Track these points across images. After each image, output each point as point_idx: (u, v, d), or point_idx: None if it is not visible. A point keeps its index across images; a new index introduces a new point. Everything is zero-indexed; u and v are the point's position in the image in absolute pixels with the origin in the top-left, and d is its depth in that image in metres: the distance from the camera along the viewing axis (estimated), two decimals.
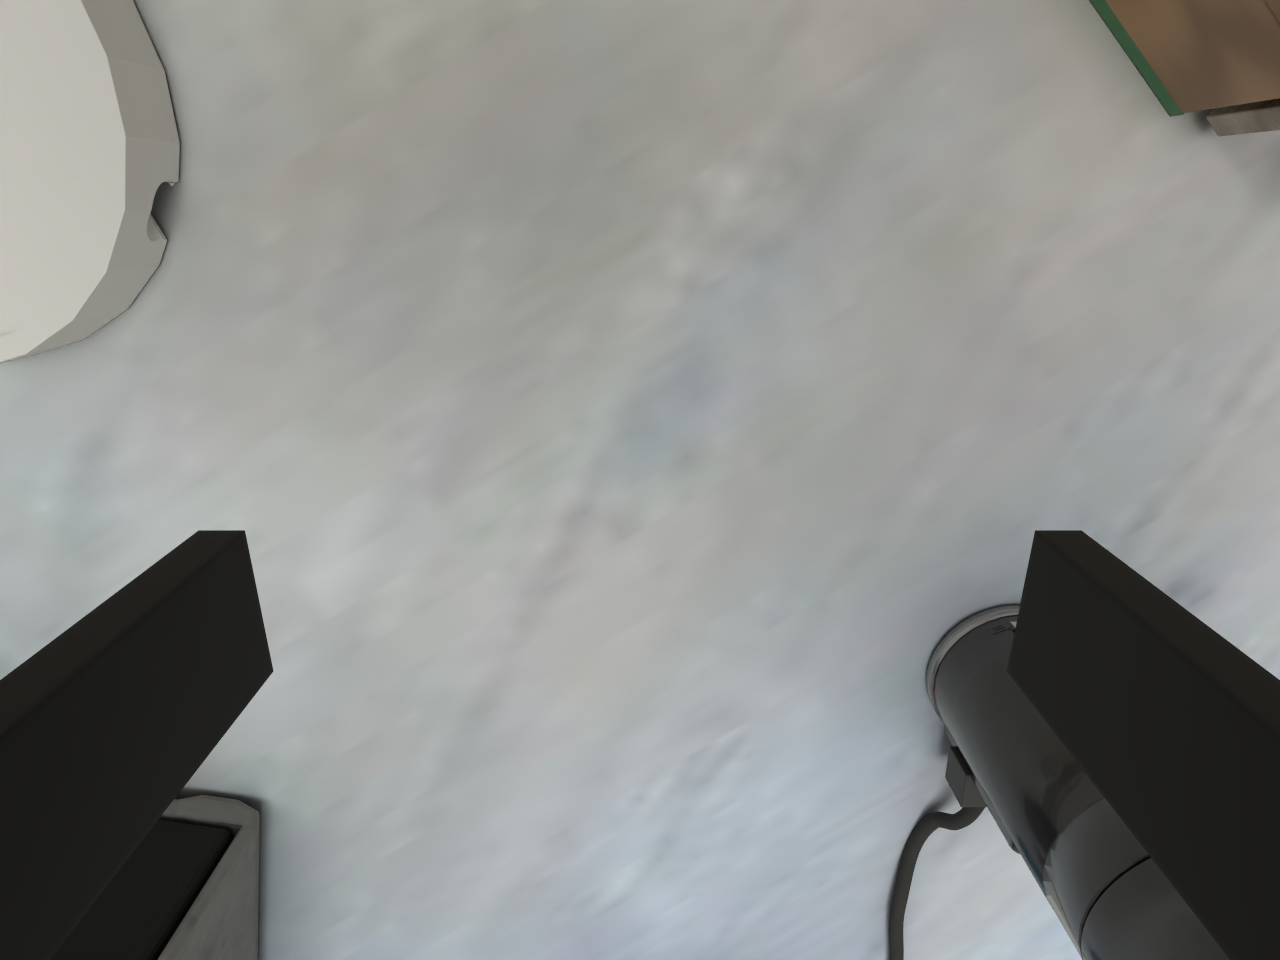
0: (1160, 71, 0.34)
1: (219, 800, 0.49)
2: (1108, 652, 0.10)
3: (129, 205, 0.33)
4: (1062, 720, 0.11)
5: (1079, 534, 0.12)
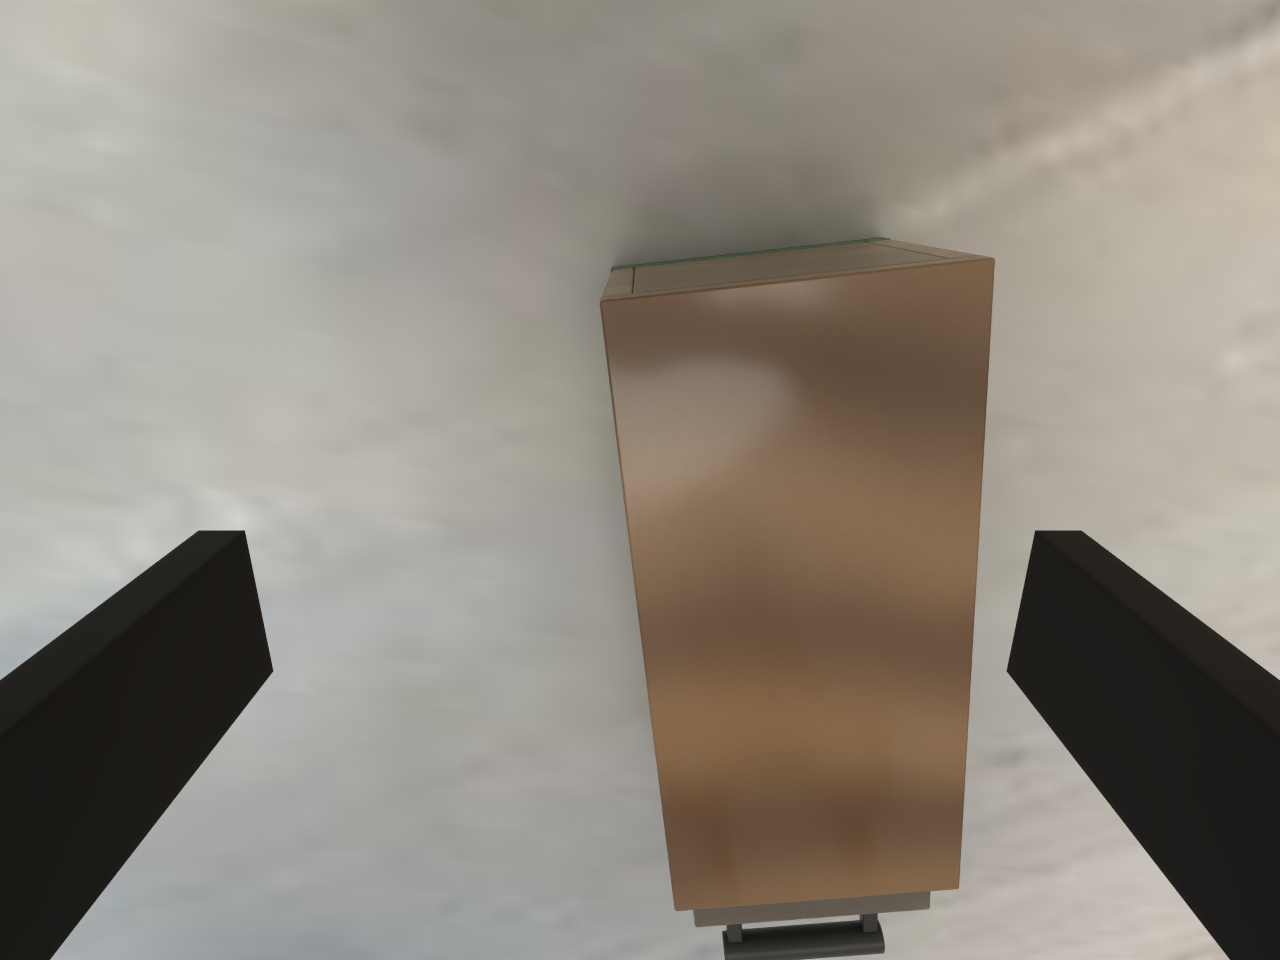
0: None
1: None
2: (1108, 652, 0.10)
3: None
4: (1062, 719, 0.11)
5: (1079, 534, 0.12)
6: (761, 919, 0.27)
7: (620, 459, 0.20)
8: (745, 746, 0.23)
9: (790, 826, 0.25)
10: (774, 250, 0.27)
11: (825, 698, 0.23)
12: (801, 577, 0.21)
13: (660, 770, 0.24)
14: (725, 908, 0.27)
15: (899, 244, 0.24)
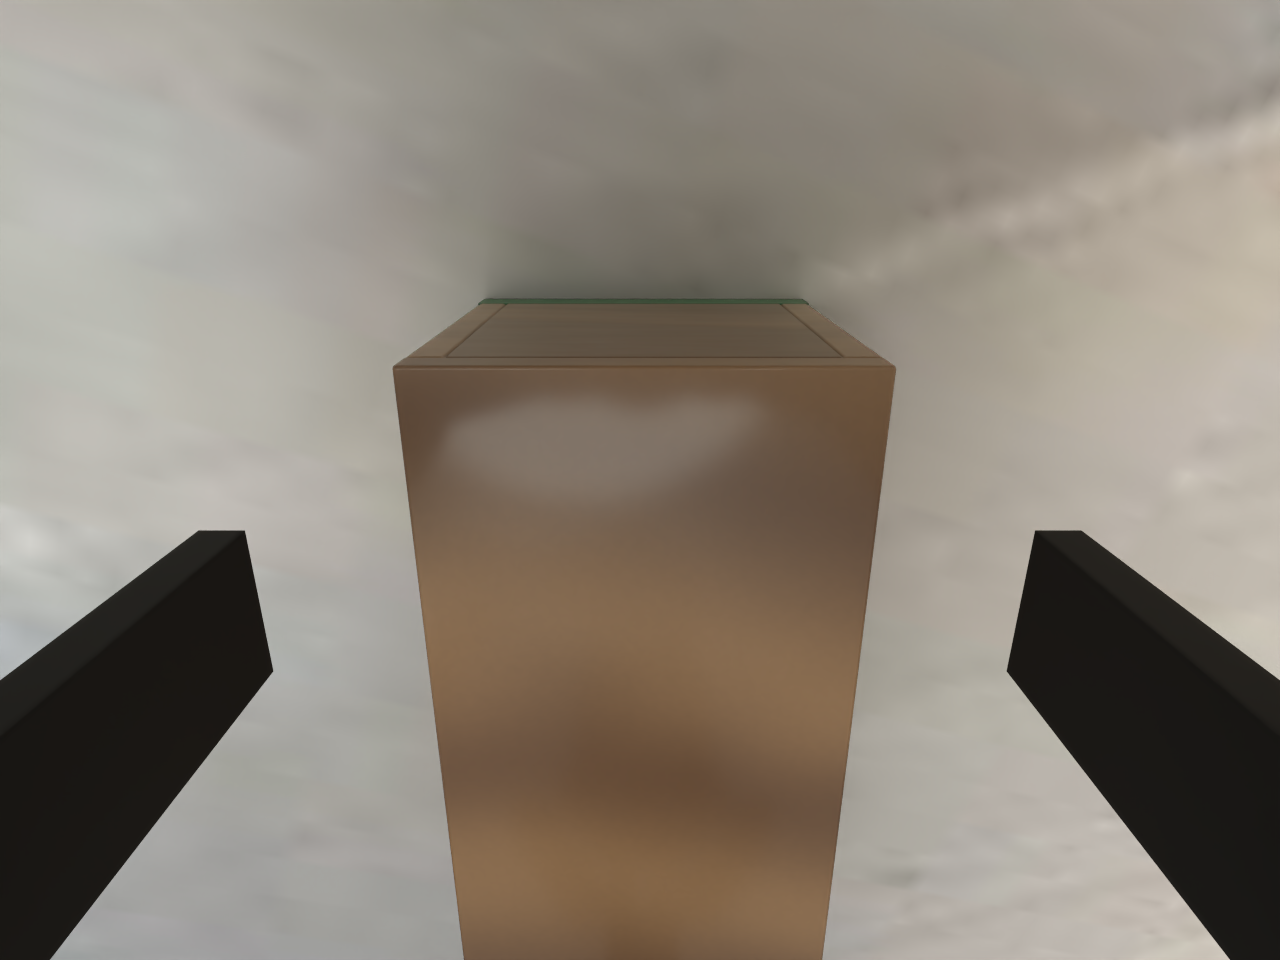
0: None
1: None
2: (1107, 651, 0.10)
3: None
4: (1062, 719, 0.11)
5: (1079, 534, 0.12)
6: None
7: (416, 560, 0.16)
8: (564, 898, 0.20)
9: None
10: (675, 301, 0.23)
11: (662, 854, 0.19)
12: (638, 717, 0.17)
13: (461, 916, 0.20)
14: None
15: (810, 316, 0.20)
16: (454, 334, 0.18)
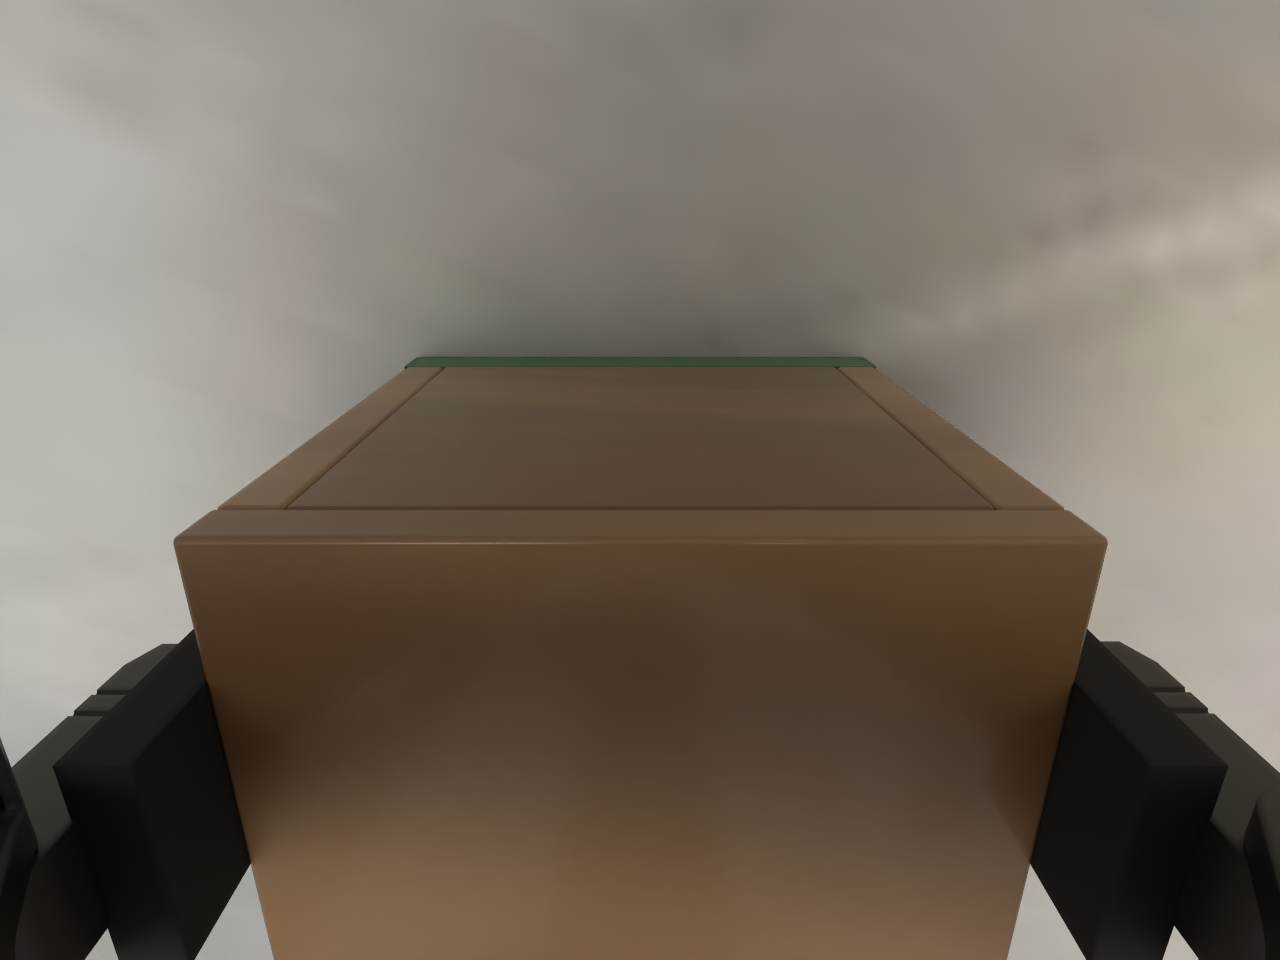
0: None
1: None
2: None
3: None
4: None
5: None
6: None
7: (248, 847, 0.09)
8: None
9: None
10: (685, 361, 0.16)
11: None
12: None
13: None
14: None
15: (890, 395, 0.13)
16: (334, 440, 0.11)
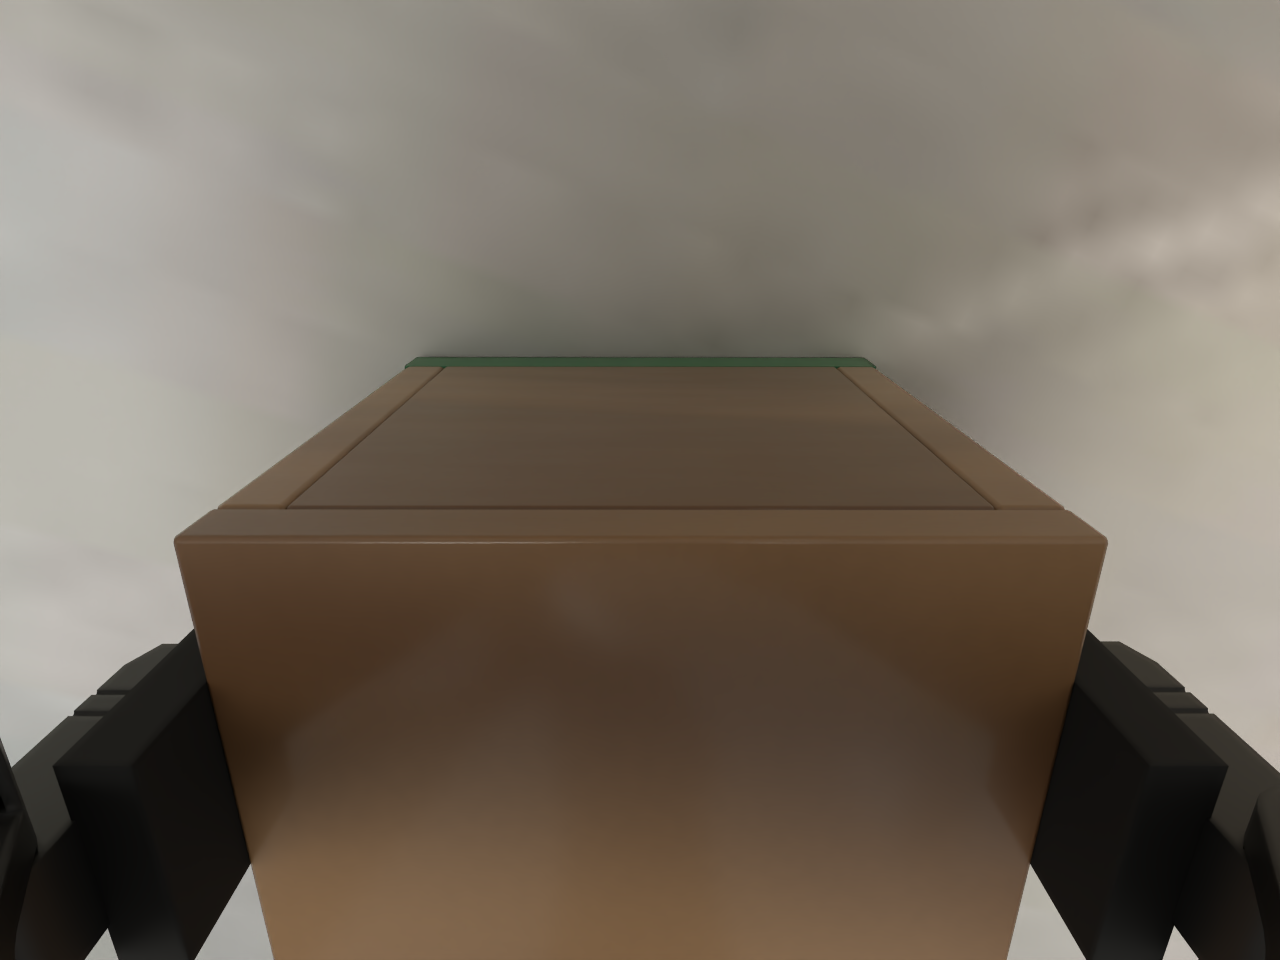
0: None
1: None
2: None
3: None
4: None
5: None
6: None
7: (248, 847, 0.09)
8: None
9: None
10: (685, 361, 0.16)
11: None
12: None
13: None
14: None
15: (891, 395, 0.13)
16: (335, 439, 0.11)
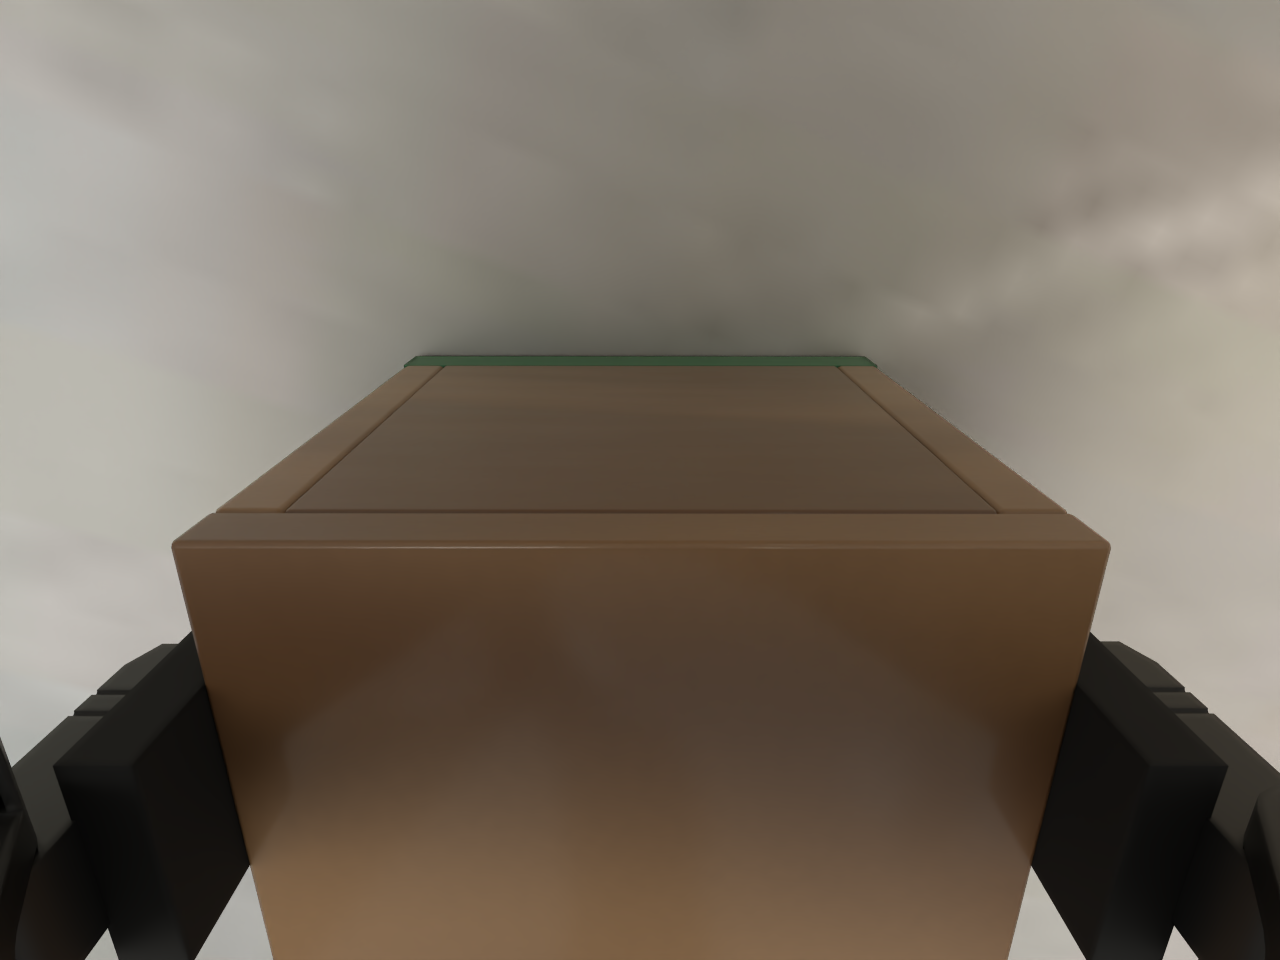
0: None
1: None
2: None
3: None
4: None
5: None
6: None
7: (248, 850, 0.09)
8: None
9: None
10: (685, 360, 0.16)
11: None
12: None
13: None
14: None
15: (892, 395, 0.13)
16: (333, 441, 0.11)
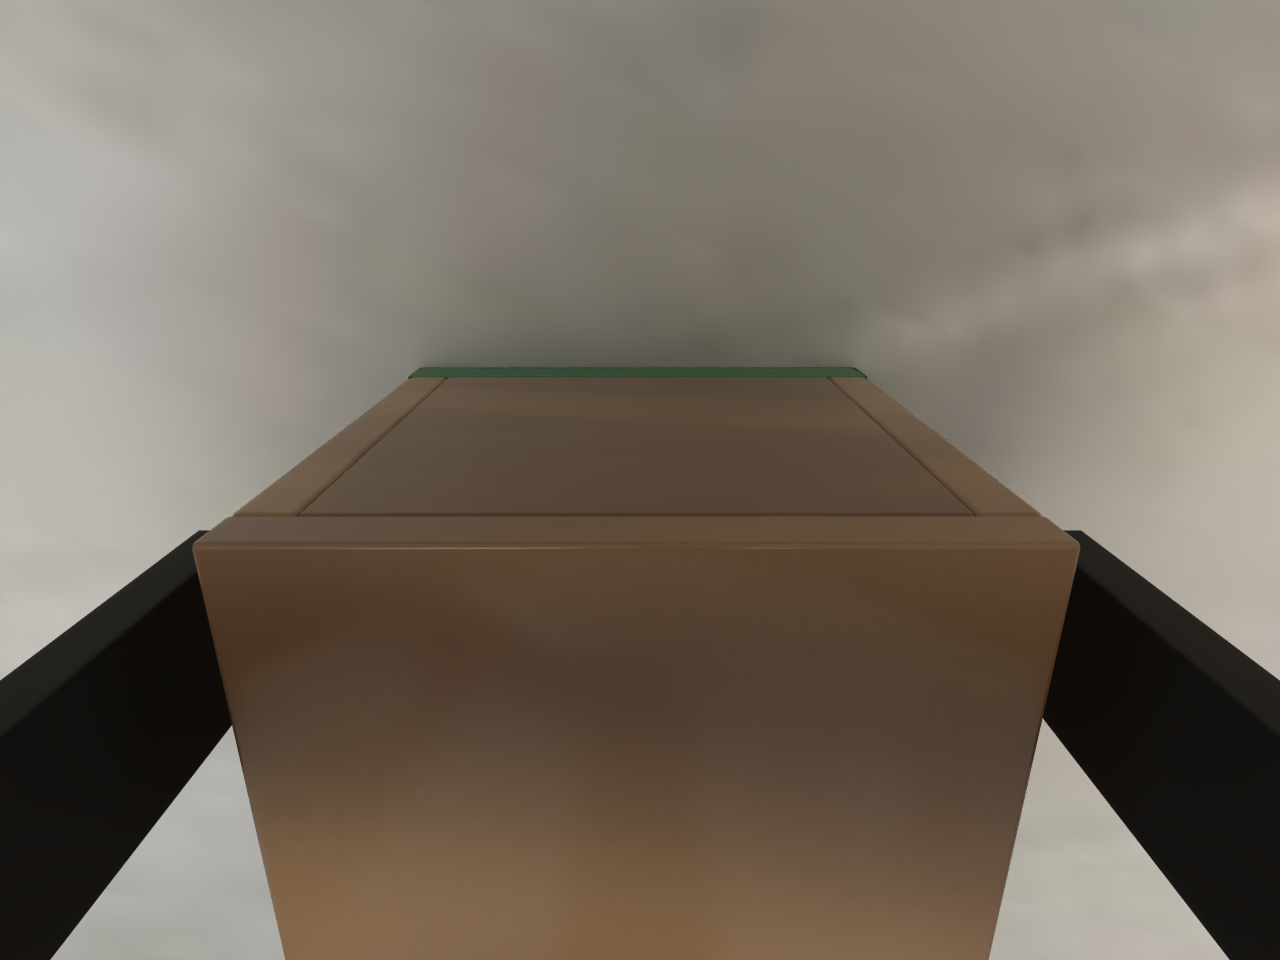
0: None
1: None
2: (1107, 651, 0.10)
3: None
4: (1061, 720, 0.11)
5: (1078, 534, 0.12)
6: None
7: (260, 841, 0.10)
8: None
9: None
10: (681, 371, 0.16)
11: None
12: None
13: None
14: None
15: (880, 404, 0.14)
16: (342, 449, 0.11)
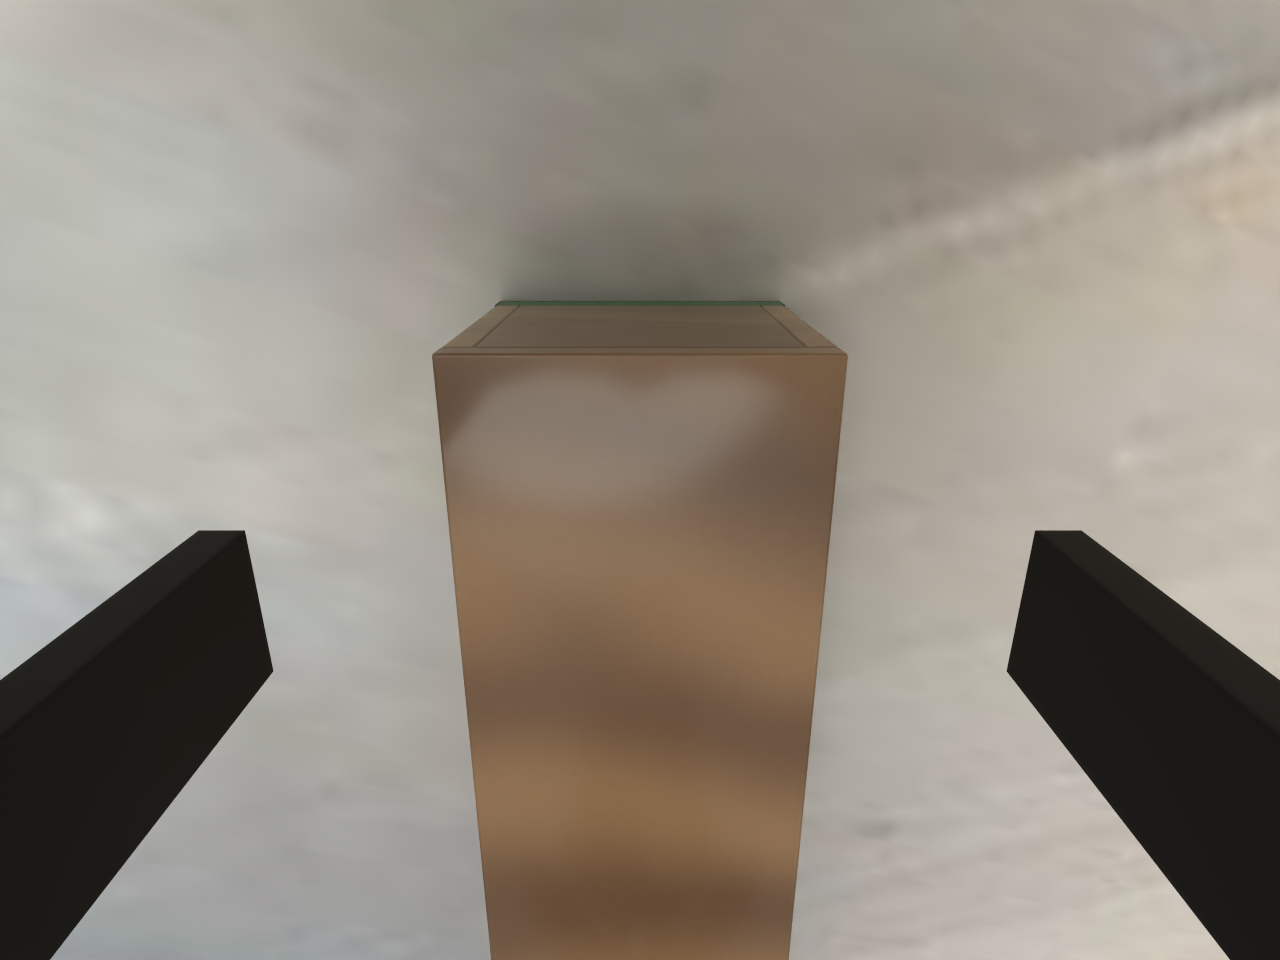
0: None
1: None
2: (1108, 651, 0.10)
3: None
4: (1061, 720, 0.11)
5: (1079, 534, 0.12)
6: None
7: (449, 518, 0.19)
8: (571, 820, 0.22)
9: (615, 904, 0.24)
10: (667, 303, 0.26)
11: (656, 779, 0.22)
12: (635, 656, 0.20)
13: (481, 837, 0.23)
14: None
15: (784, 315, 0.23)
16: (478, 330, 0.21)
